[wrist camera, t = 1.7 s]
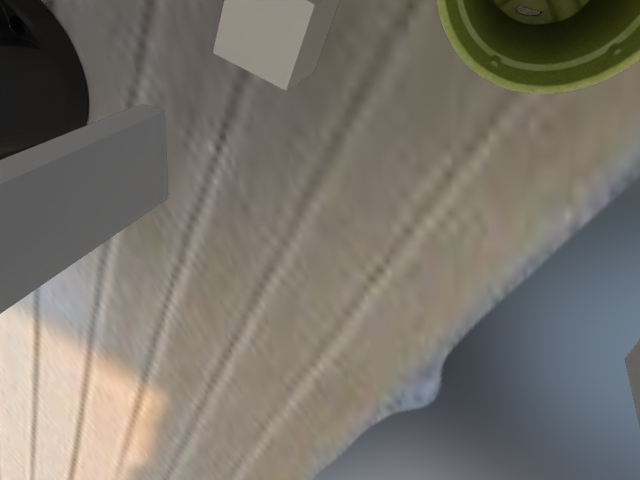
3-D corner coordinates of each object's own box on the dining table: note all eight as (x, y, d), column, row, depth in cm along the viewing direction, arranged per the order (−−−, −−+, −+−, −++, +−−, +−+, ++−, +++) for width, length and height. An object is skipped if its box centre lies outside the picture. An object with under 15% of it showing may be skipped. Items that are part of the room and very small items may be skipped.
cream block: (249, 38, 32) (212, 52, 28) (270, -41, 29) (232, -37, 25) (314, 71, 32) (286, 90, 28) (342, -5, 29) (314, 4, 25)
